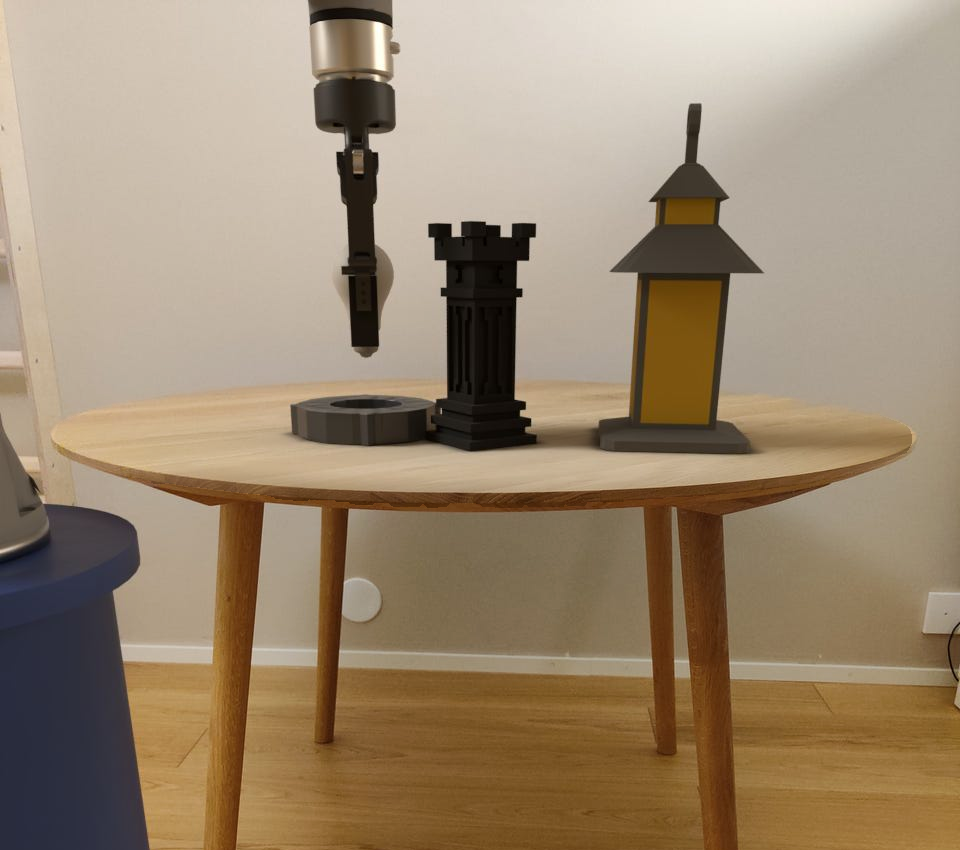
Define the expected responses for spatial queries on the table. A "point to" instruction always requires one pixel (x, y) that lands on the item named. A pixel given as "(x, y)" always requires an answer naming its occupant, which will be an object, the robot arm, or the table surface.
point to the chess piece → (481, 335)
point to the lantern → (680, 318)
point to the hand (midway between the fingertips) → (365, 343)
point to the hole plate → (363, 419)
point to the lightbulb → (383, 275)
